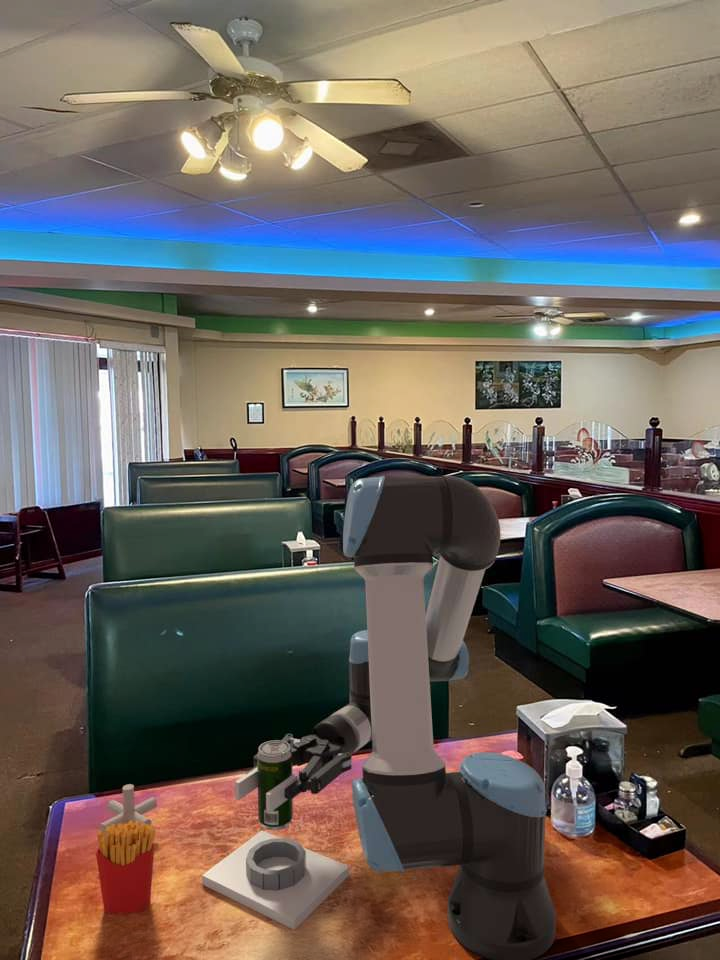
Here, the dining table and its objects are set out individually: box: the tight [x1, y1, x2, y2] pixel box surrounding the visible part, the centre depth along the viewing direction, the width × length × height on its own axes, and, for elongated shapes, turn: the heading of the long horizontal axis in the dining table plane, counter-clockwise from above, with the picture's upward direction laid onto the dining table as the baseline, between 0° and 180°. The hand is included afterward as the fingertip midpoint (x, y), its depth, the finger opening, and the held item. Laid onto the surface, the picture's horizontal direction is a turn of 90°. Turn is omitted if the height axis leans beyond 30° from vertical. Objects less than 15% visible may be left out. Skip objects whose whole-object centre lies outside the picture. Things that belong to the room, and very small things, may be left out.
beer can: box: [256, 739, 294, 831], centre depth 109 cm, size 5×5×12 cm
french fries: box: [95, 820, 157, 914], centre depth 104 cm, size 8×4×12 cm, turn 93°
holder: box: [201, 830, 350, 931], centre depth 109 cm, size 18×14×4 cm
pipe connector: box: [99, 783, 158, 836], centre depth 119 cm, size 10×10×10 cm
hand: (252, 796), depth 104 cm, fingers closed on beer can, 5 cm apart
